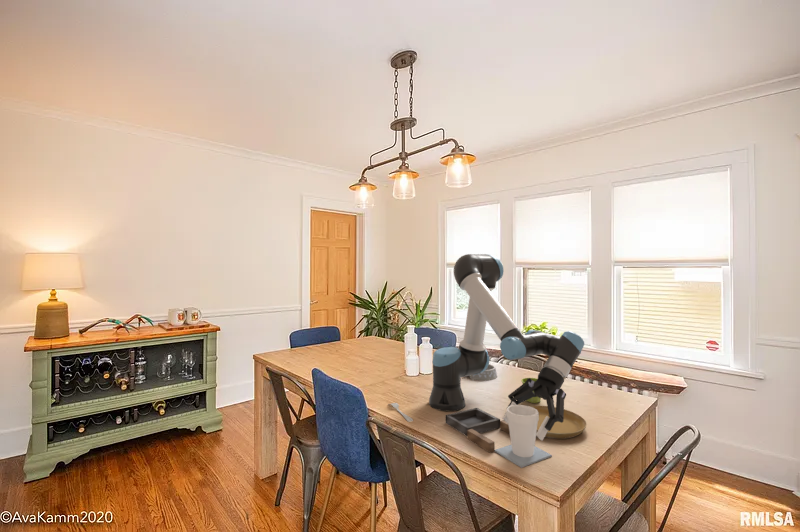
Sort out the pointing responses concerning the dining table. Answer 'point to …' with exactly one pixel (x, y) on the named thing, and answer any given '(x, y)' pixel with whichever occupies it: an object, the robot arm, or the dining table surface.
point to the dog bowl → (485, 374)
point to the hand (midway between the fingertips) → (521, 429)
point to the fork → (401, 412)
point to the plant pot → (533, 399)
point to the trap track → (477, 426)
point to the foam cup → (522, 429)
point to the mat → (522, 461)
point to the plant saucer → (562, 424)
